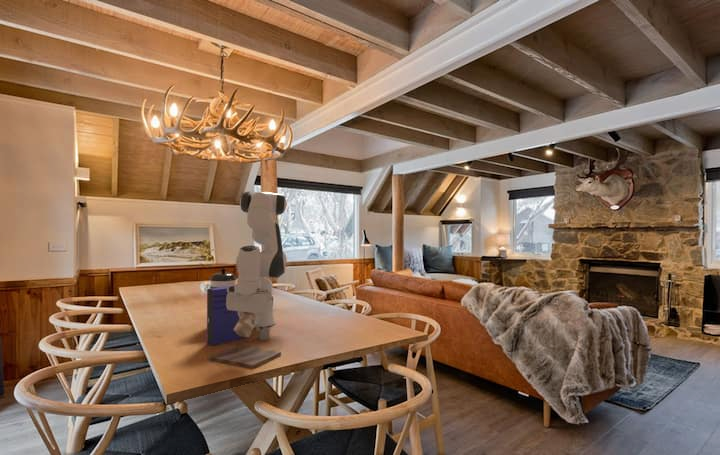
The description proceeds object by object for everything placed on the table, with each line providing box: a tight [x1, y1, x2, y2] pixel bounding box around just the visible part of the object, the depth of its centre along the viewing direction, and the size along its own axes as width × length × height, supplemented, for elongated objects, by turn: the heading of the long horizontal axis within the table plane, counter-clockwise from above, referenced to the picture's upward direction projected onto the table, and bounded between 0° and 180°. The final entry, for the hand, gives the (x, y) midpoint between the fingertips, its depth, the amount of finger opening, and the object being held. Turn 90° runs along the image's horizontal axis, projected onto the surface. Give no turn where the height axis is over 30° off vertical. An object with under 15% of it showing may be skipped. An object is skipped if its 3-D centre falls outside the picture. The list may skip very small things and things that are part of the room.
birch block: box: [233, 312, 255, 338], centre depth 142 cm, size 4×4×8 cm
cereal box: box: [206, 286, 249, 347], centre depth 165 cm, size 17×5×24 cm, turn 141°
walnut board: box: [206, 344, 282, 369], centre depth 143 cm, size 22×16×1 cm
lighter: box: [255, 324, 271, 341], centre depth 167 cm, size 7×2×8 cm, turn 103°
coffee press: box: [209, 267, 237, 289], centre depth 190 cm, size 17×16×30 cm
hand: (249, 323), depth 144 cm, fingers closed on birch block, 4 cm apart
